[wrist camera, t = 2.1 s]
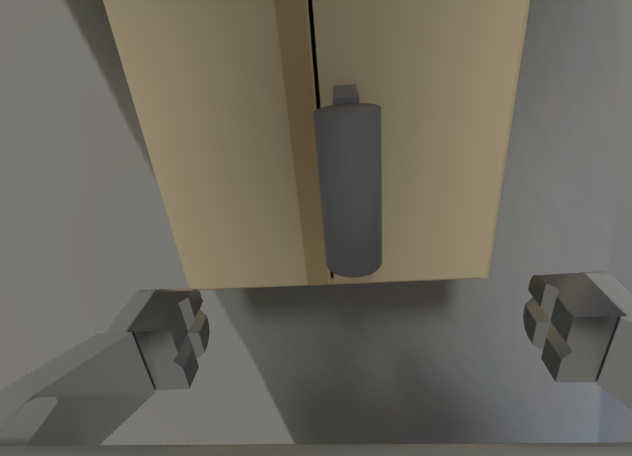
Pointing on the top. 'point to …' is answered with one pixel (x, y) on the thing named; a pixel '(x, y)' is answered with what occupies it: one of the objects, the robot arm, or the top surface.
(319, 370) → the top surface
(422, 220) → the near flap
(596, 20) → the top surface
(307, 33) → the carton
